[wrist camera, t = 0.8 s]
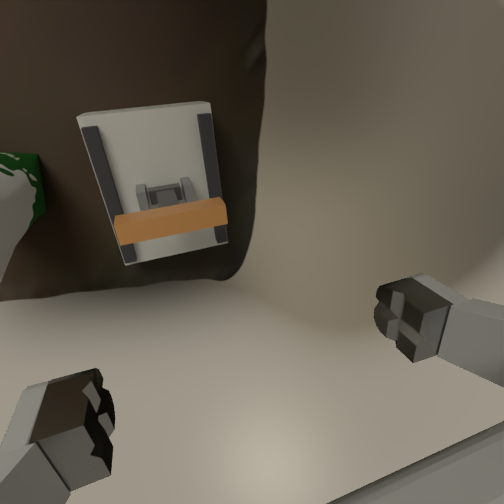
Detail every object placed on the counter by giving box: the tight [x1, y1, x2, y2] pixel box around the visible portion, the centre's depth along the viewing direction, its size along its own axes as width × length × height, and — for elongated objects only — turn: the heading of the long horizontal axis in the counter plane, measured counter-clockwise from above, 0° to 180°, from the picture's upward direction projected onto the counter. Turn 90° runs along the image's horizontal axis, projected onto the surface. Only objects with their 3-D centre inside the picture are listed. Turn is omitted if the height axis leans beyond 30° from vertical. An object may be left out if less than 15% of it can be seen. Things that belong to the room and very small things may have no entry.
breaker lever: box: [114, 183, 228, 246], centre depth 33 cm, size 2×10×10 cm, turn 94°
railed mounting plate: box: [81, 113, 228, 264], centre depth 37 cm, size 16×13×1 cm
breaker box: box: [76, 101, 228, 266], centre depth 39 cm, size 18×14×10 cm
